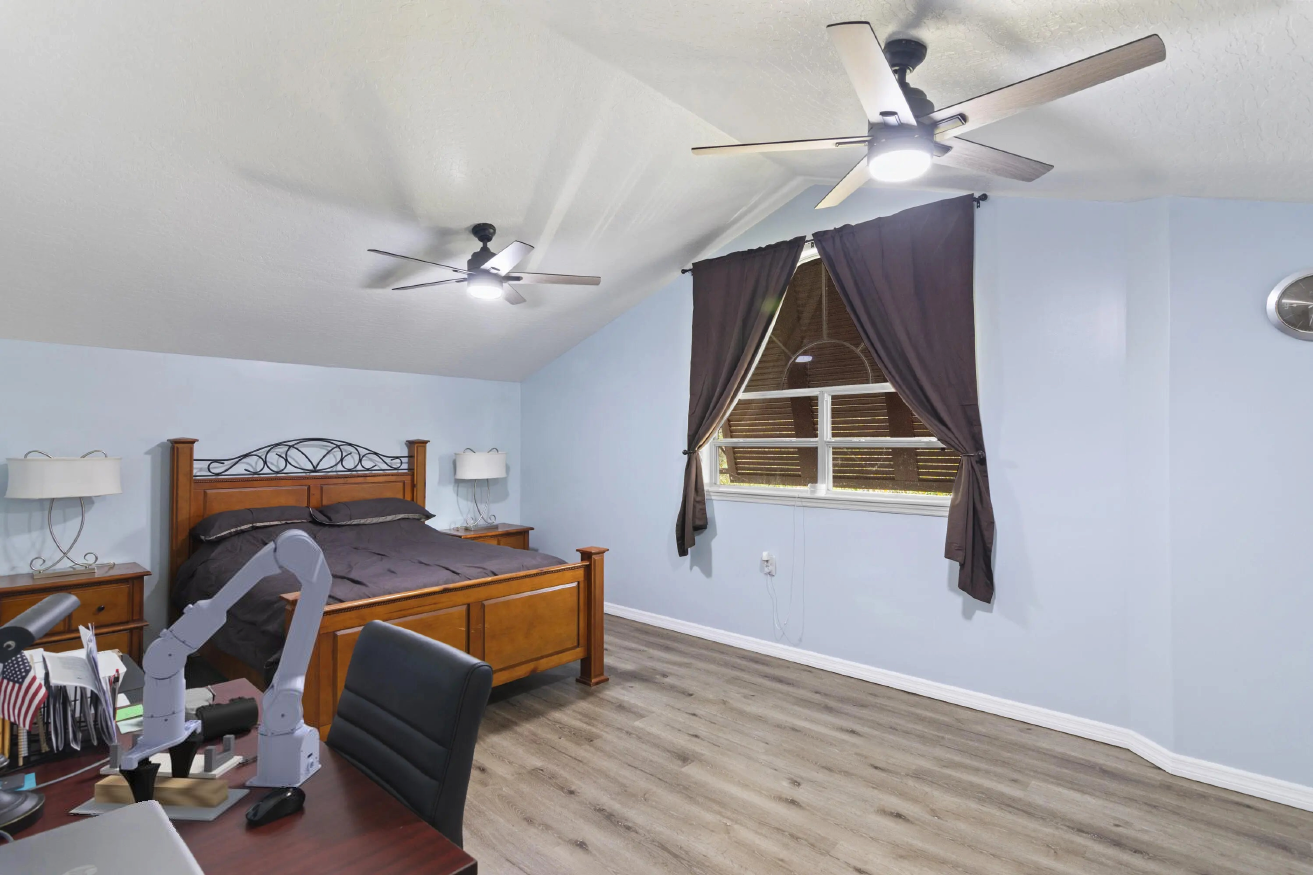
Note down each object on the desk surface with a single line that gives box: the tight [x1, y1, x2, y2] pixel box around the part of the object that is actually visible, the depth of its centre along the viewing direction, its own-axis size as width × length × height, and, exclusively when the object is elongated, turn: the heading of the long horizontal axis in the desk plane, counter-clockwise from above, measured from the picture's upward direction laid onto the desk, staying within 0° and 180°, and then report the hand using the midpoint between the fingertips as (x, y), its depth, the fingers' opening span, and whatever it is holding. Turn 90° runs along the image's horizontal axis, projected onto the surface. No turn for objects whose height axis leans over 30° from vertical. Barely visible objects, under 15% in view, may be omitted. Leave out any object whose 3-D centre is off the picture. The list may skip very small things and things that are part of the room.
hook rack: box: [99, 731, 243, 780], centre depth 124 cm, size 22×7×5 cm, turn 86°
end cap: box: [195, 695, 260, 744], centre depth 138 cm, size 10×7×7 cm
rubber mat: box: [68, 788, 250, 821], centre depth 112 cm, size 24×9×1 cm, turn 86°
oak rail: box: [93, 774, 229, 808], centre depth 112 cm, size 21×3×3 cm, turn 86°
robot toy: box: [185, 685, 224, 723], centre depth 147 cm, size 12×4×15 cm
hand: (162, 792), depth 112 cm, fingers open, 7 cm apart
